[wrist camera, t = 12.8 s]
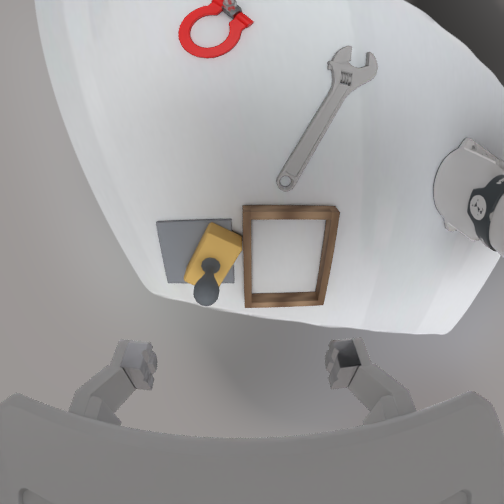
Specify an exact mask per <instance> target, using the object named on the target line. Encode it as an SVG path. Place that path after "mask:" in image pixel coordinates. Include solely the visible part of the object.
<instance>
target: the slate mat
mask: <svg viewBox="0 0 504 504" xmlns="http://www.w3.org/2000/svg"><path fill="white" fill-rule="evenodd" d="M211 222H213V223H215V224H217V225H219V226H221V227H223V228H225V229H228V230H230V231H232V223H231V219H207V220H176V221H157V222H156V226H157V231H158V237H159V242H160V247H161V252H162V257H163V262H164V267H165V272H166V276H167V281H168V283H188V282H185V281H184V275H185V271H186V268H187V266H188V264H189V262H190V260H191V258H192V256H193V254H194V252H195V250H196V248H197V246H198V244H199V242H200V240H201V238H202V236H203V234H204V232H205V230H206V228H207V226H208V224H209V223H211ZM222 283H234V267H233V265H232V267H231V268H230V270H229V272H228V273H227V275H226V276H225V278H224V280H223V281H222Z"/></svg>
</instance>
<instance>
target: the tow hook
mask: <svg viewBox="0 0 504 504" xmlns="http://www.w3.org/2000/svg"><path fill="white" fill-rule="evenodd" d="M222 11H223V12H225V13H226V14H228V15H229V16H230V17H232V18H233V20H232V21H231V22H229V26H230V32H229V35H228V37H227V39H226V40H225V41H224V42H223V43H221V44H220V45H218V46H215V47H211V48H203V47H200V46H197V45H196V44H194V42H193V41H192V39H191V37H190V31H191V27H192V26H193V24H194V23H195V22H196V21H197V20H198V19H200V18H201V17H204V16H208V15H218V14H219V13H220V12H222ZM253 22H254V21H252V20H251V19H250V18H248V17H247V16H246V15H245V14H243V13H242V10H241V8H240V7H239V6H238V5H237V2H236V0H212V3H211V4H210V5H208V6H203V7H201V8H198V9H196V10H194V11H192V12H191V13H189V14H188V15H187V16H186V17H185V18H184V20H183V21H182V23H181V25H180V28H179V40H180V43H181V45H182V47H183V48H184V49H185V50H186V51H187V52H189V53H190V54H192V55H194V56H197V57H201V58H214V57H218V56H221V55H224V54H225V53H227V52H229V51H230V50H231V49H232V48H233V47H234V46H235V45H236V44H237V42H238V41H239V39H240V36H241V31H242V30H243V29H245V28H247V27H249V26H250V25H252V23H253Z"/></svg>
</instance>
